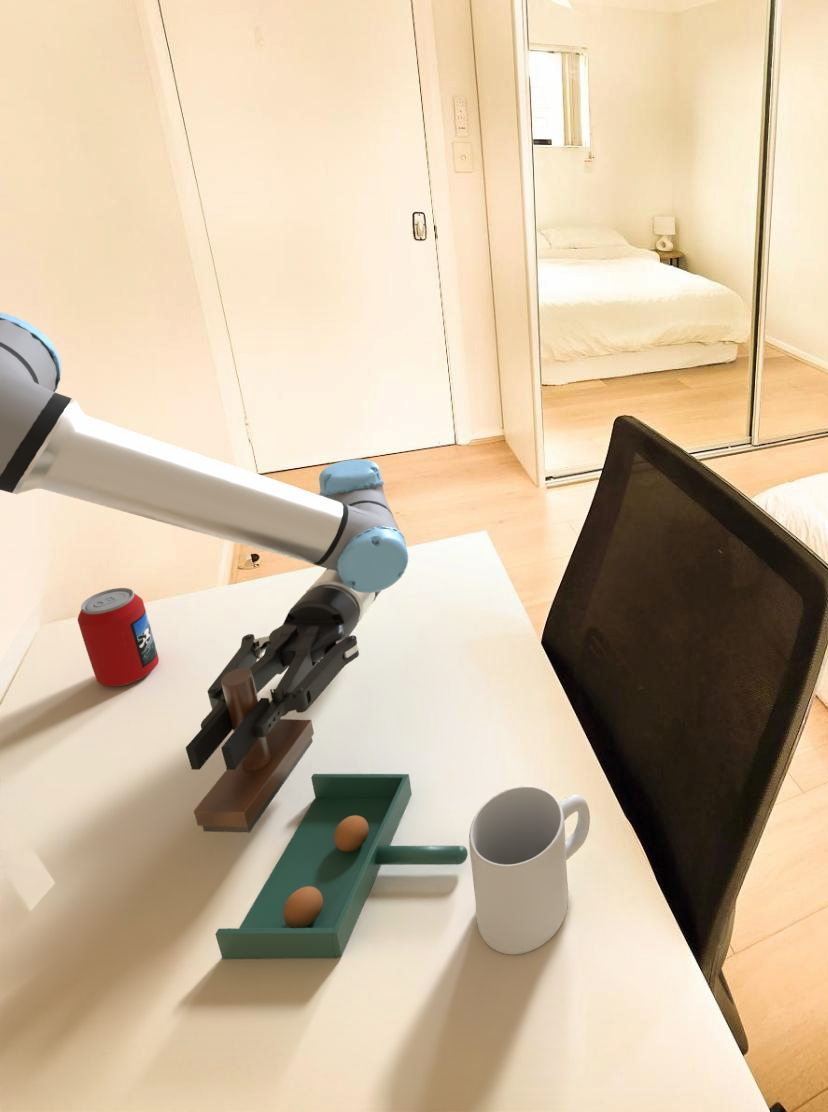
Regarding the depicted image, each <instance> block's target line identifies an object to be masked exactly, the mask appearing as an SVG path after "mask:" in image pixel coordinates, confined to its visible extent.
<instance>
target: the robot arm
mask: <svg viewBox="0 0 828 1112" xmlns="http://www.w3.org/2000/svg"><path fill="white" fill-rule="evenodd" d="M61 374H62V361H61V358H60V354H59V352H58V350H57V348H56V346H55V345H54V344H53V343H52V341H51V340H50V338H49V337H48V336H47V335H46V334H45V333H43V331H41V330H40V329H38V328H37V327H35V326H34V325H33V324H31V323H30V322H27V321H25V320H24V319H21V318H19V317H16V316H15V315H11V314H8V313H4V312H0V491H3V492H6V493H11V494H14V495H19V494H23V493H26V492H29V491H32V490H44V491H48V492H51V493H55V494H59V495H62V496H66V497H69V498H73V499H77V500H80V501H84V502H87V503H90V504H95V505H99V506H102V507H105V508H109V509H113V510H115V511H120V512H123V513H128V514H130V515H134V516H137V517H142V518H145V519H148V520H153V521H155V522H159V523H163V524H166V525H171V526H174V527H178V528H180V529H185V530H188V531H191V532H196V533H199V534H203V535H207V536H210V537H214V538H217V539H221V540H223V541H224V540H225V541H228V542H230V543H231V542H232V543H235V544H239V545H242V546H246V547H250V548H254V549H257V550H259V551H260V550H261V551H264V552H267V553H271V554H275V555H278V556H282V557H286V558H289V559H292V560H297V561H300V562H304V563H307V564H311V565H313V566H318V567H320V568H324V569H325V570H324V572H323V573H322V574H321V575H320V576H319V577H318V578H317V580H315V582H314V583H313V584H312V585H311V586H310V587H309V588H308V589H307V590H306V592H305V593H304V594H303V595H302V596H301V597H300V598H299V599H298V600H297V601H296V602H295V604H294V605H293V606H292V607H291V608H290V610H289V611H288V613H287V615H286V617H285V618H284V621H283V623H282V625H280V626H278V627H277V628H275V629H273V630H272V631H271V632H270V633H269V635H267V636H263V637H258V638H255V634H253V633H247V634H246V635H244V636H243V637H242V638H241V643H240V647H239V649H238V650H237V652H235V654H234V655H233V656H232V658H231V659H230V661H229V662H228V663H227V664H226V666H224V668H223V669H222V671H221V672H220V674H219V675H218V676H217V677H216V679H215V680H214V681H213V682H212V684H211V685H210V686H209V688H208V689H207V695H208V698H209V704H210V707H211V711H210V712H209V713H208V714H207V715H206V716H205V718H203V720H202V721H201V723H200V730H199V731H198V732H197V733H196V735H195V736H194V737H193V738H192V739H191V741H190V742H189V743H188V744H187V745H186V746H185V750H186V754H187V757H188V761H189V765H190V769H191V770H196V771H197V770H198V771H200V770H201V769H202V767H203V766H205V764H206V763H207V761H208V760H209V759H210V758H211V756H212V755H213V754H214V753H215V751H217V749H218V748H219V747H220V746H221V744H222V743H223V742H224V740H225V739H226V738H227V737H228V736H229V735H230V733H231V732H232V734H231V735H230V736H229V737H228V738H227V740H226V741H225V742H224V743H223V745H222V746H221V747H220V749H221V752H222V757H223V760H224V765H225V768H226V770H235V769H236V768H237V766H238V765H239V764H240V762H241V761H242V760H243V758H244V757H245V756H246V754H247V753H248V752H249V750H250V749H251V748H252V746H253V745H254V744H255V742H256V741H257V740H258V738H259V737H265V736H266V735H268V734H269V733H270V731H271V730H272V729H273V727H274V726H275V725H276V723H277V722H278V721H279V719H282V717H285V716H286V715H288V713H289V712H292V711H295V712H296V713H299V714H300V713H301V714H302V713H304V712H307V710H309V708H310V707H312V705H313V704H314V703H315V701H316V700H317V699H318V698H319V697H320V696H321V694H322V693H323V692H324V691H325V690H326V689H327V687H328V686H329V685H330V684H331V683H332V682H333V680H335V678H336V677H337V676H338V674H339V673H340V672H341V671H342V670H343V669H344V667H346V666H347V665H348V664H349V663H351V662H353V661H354V660H355V659H357V658H358V657H359V656H360V652H359V651H360V650H359V643H358V638H357V636H356V635H353V634H352V633H353V631H354V630H355V629H356V627H357V625H358V623H360V621H361V620H362V618H363V617H364V616H365V615H366V613H367V612H368V610H369V609H370V608H371V606H372V605H373V603H374V602H375V600H376V598H377V597H378V596H379V594H380V593H381V592H382V591H383V590H386V589H389V588H390V587H391V586H393V585H395V583H397V582H398V581H399V580H400V579H401V578H402V576H403V575H404V574H405V571H406V569H407V567H408V562H409V552H408V548H407V543H406V539H405V536H404V534H403V533H402V531H401V530H400V528H399V525H398V523H397V522H396V519H395V518H394V514H393V512H392V510H391V507H390V506H389V504H388V503H389V502H388V501H387V499H386V495H385V491H384V484H385V483H384V480H383V477H382V473H381V468H380V466H379V464H377V463H376V462H374V461H371V460H368V459H361V458H360V459H357V458H355V459H348V460H347V459H346V460H343V461H339V462H336V463H333V464H330V465H328V466H327V467H325V468H324V469H322V470H321V472H320V474H319V477H318V482H319V483H318V484H319V491H320V492H319V494H317V493H314V492H312V491H308V490H305V489H303V488H299V487H297V486H294V485H292V484H288V483H285V482H282V481H279V480H277V479H274V478H270V477H267V476H265V475H262V474H259V473H256V472H253V471H251V470H248V469H244V468H242V467H240V466H239V467H238V466H236V465H233V464H231V463H227V462H224V461H221V460H218V459H215V458H212V457H209V456H206V455H204V454H200V453H198V452H195V451H193V450H189V449H187V448H183V447H180V446H178V445H175V444H172V443H169V442H166V441H163V440H160V439H157V438H155V437H151V436H148V435H145V434H142V433H140V432H136V431H134V430H131V429H128V428H126V427H123V426H119V425H116V424H113V423H110V422H108V421H105V420H102V419H99V418H96V417H92V416H91V415H87V414H86V413H84V411H83V410H82V408H81V407H80V404H79V403H78V401H77V399H75V398H72V397H69V396H67V395H64V394H60V393H58V392H56V391H57V390H58V388H59V384H60V382H61ZM351 634H352V635H351ZM241 668H247V669H250V670H251V671H252V675H253V679H254V683H255V688H256V692H257V694H258V693H260V691H262V689H264V688H265V687H266V686H267V685H268V684H269V682H271V681H272V680H273V679H274V678H275V677H276V676H277V675H282V674H283V673H284V674H283V676H282V677H281V678H280V680H279V682H278V684H277V685H276V687H275V688H273V689H272V688H270V690H269V692H270V693H269V694H270V698H271V700H270V698H269V697H260V699H258V703H257V704H256V705H255V706H254V708H253V709H252V710H251V711H250V713H249V714H248V715H247V716H246V718H245V719H244V720H243V721H242V722H241V724H240V725H239V726H238V727H237V729H236V730H235V731H234V732H233V728H232V724H231V720H230V716H229V712H228V708H227V704H226V700H225V696H224V692H223V688H222V684H221V680H222V678H223V677H224V676H225V675H226V674H228V673H229V672H231V671H233V670H236V669H241Z"/></svg>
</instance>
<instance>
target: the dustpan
mask: <svg viewBox="0 0 828 1112" xmlns="http://www.w3.org/2000/svg"><path fill="white" fill-rule="evenodd" d="M310 778H311V779H310V780H311V784H312V788H313V792H314V799H313V801H312V803H311V805H310V806H309V808H308V809H307V811H306V813H305V814H304V817H303V818H302V820H301V821H300V823H299V825H298V827H297V829H296V830H295V832H294V833H293V835H292V837H291V839H290V840H289V842H288V843H287V845H286V847H285V848H284V851H283V852H282V853H281V855H280V857H279V859H278V861H277V863H276V865H275V866H274V868H273V869H272V871H271V873H270V874H269V876H268V877H267V880H266V881H265V883H264V885H263V886H262V888H261V889H260V891H259V892H258V893H259V894H258V895H257V897H256V898H255V900H254V902H252V905H251V907H250V909H249V910H248V912H247V914H246V915H245V917H244V919H243V921H242V922H241V924H240V926H239V927H238V928H237V927H236V928H217V930H216V932H215V933H214V935H215V939H216V941H217V945H218V949H219V951H220V956H221V959H222V960H257V959H258V960H261V959H266V960H267V959H276V960H277V959H337V958H338V957H342V956H343V953H344V951H345V949H346V947H347V945H348V942H349V941H350V938H351V935H352V933H353V931H354V929H355V926H356V924H357V922H358V919H359V917H360V914H361V912H362V910H363V909H364V906H365V903H366V901H367V899H368V896H369V894H370V892H371V889H372V886H373V884H374V883H375V880H376V877H377V875H378V873H379V871H380V868H381V866H394V865H395V866H402V865H403V866H404V865H405V866H415V865H417V866H419V865H420V866H425V865H426V866H429V865H434V866H439V865H440V866H441V865H442V866H445V865H446V866H447V865H448V866H449V865H452V866H453V865H462V864H463V863H465V862H466V860H467V859H468V857H469V856H468V854H469V852H468V849H467V847H466V846H464V845H391V843H392V840H393V838H394V836H395V834H396V832H397V829H398V827H399V826H400V825H399V824H400V822H401V820H402V818H403V815H404V813H405V811H406V809H407V806H408V804H409V801H410V799H411V797H412V795H413V794H412V786H411V779H410V774H409V773H312V775H311V777H310ZM354 815H357V816H361V817H363V818H364V819H365V820H366V821H367V823H368V826H369V832H368V836H367V838H366V840H365V842H364V843H363V844H362V845H361V846H360V847H359V848H357V849H356V850H353V851H349V852H345V851H342V850H340V849H339V848H338V847H337V846H336V844H335V841H334V834H335V831H336V828H337V827H338V825H339V824H340V823H341V822H342V821H343V820H344V819H345V818H347V817H350V816H354ZM307 886H311V887H315V888H317V889H318V890H319V891H320V893H321V894H322V897H323V906H322V909H321V912H320V914H319V915H318V917H317V918H316V919H315V921H314V922H312V923H311V924H310V925H308V926H306V927H304V928H291V927H289V926H288V925H287V924H286V922H285V920H284V917H283V911H284V906H285V904H286V902H287V900H288V898H289V897H290V896H291V895H292V894H293V893H294V892H295V891H297V890H298V889H300V888H303V887H307Z"/></svg>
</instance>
